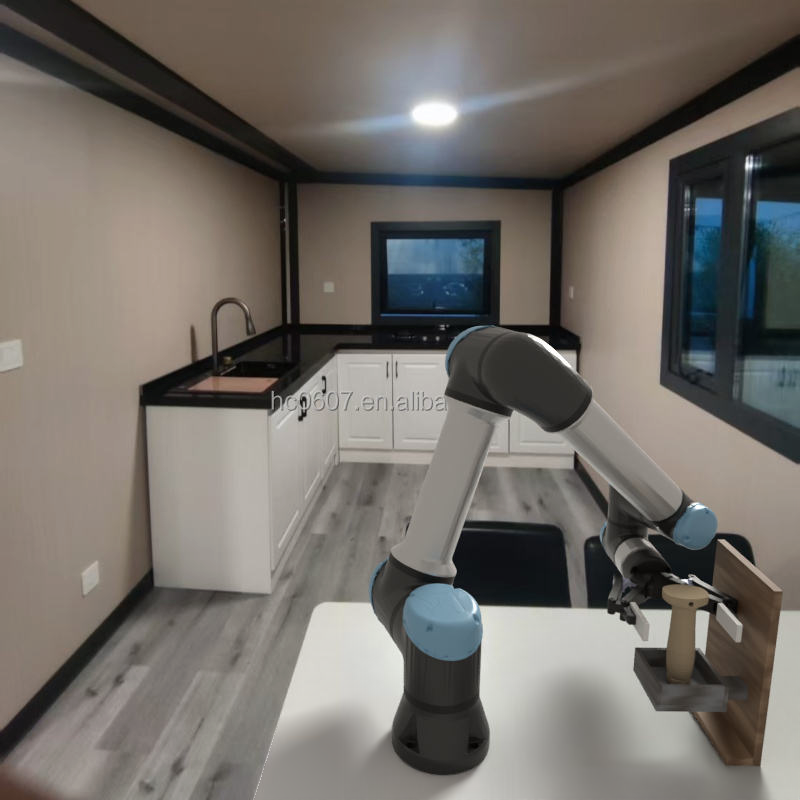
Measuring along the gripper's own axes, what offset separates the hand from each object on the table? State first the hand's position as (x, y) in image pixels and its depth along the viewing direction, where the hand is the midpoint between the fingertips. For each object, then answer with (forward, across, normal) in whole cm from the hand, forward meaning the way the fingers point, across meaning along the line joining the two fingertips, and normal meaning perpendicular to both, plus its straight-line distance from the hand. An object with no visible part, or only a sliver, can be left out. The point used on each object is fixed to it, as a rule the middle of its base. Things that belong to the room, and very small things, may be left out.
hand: (692, 633), depth 100 cm
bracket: (-7, -3, -21) cm, 22 cm away
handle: (-3, 0, -11) cm, 11 cm away
